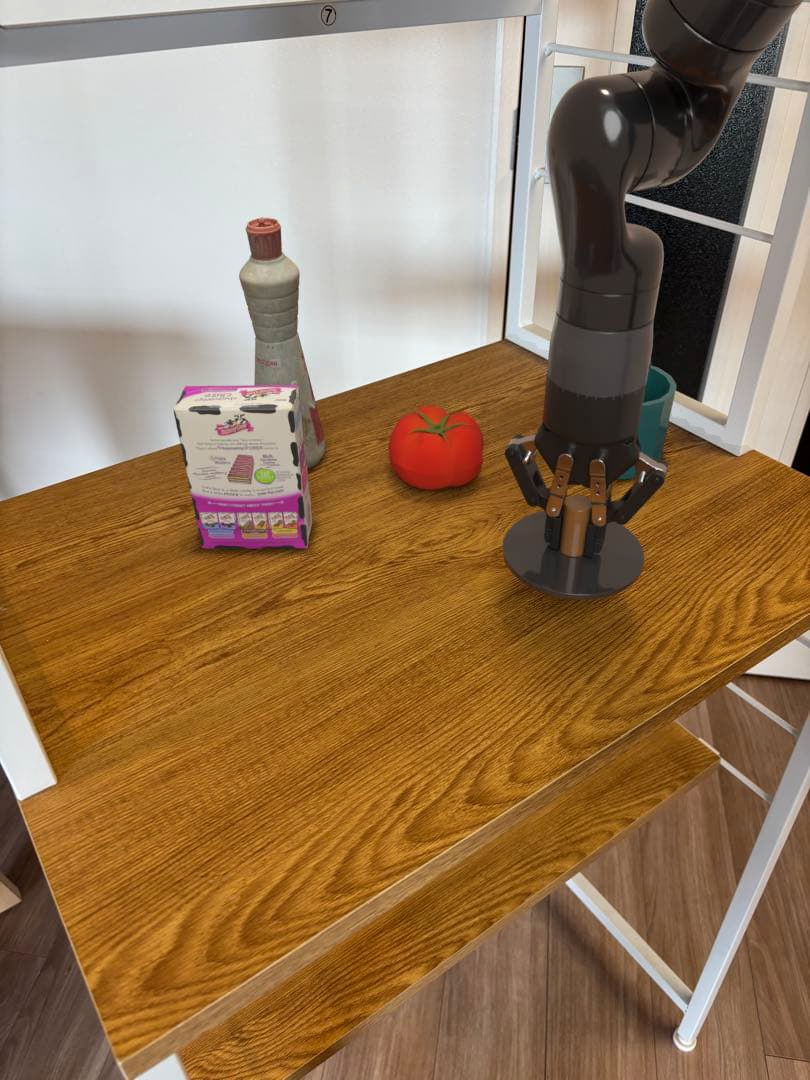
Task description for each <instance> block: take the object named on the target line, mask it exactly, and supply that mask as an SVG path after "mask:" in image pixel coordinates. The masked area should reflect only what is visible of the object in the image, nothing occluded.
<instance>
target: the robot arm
mask: <svg viewBox="0 0 810 1080" xmlns="http://www.w3.org/2000/svg"><path fill="white" fill-rule="evenodd" d="M804 1H805V0H647V1H646V3H645V6H644V8H643V14H642V19H641V33H642V37H643V38H642V39H643V41H644V44H645V46H646V48H647V50H648V52H649V54H650V55H651V57H652V59H653V60H655V62H654V63H653V64H652V65H651V66H650V67H649V68H648V69H644V70H638V71H629V72H620V73H613V74H603V75H597V76H591V77H588V78H585V79H581V80H579V81H578V82H576V83H575V84H573V85H572V86H571V87H569V88H568V89H566V91H565V92H564V94H563V95H562V97H561V98H560V99H559V101H558V103H557V105H556V106H555V108H554V111H553V113H552V115H551V118H550V121H549V125H548V129H547V132H546V139H545V140H546V141H545V161H546V162H545V163H546V169H547V170H546V171H547V176H548V180H549V189H550V193H551V198H552V199H551V200H552V205H553V210H554V217H555V224H556V231H557V236H558V237H557V238H558V242H559V243H558V244H559V249H560V256H561V258H560V259H561V263H560V269H559V277H558V289H557V300H556V310H555V316H554V322H553V325H552V329H551V333H550V339H549V346H548V347H549V348H548V355H547V357H548V358H547V366H546V367H547V368H546V376H545V377H546V378H545V391H544V401H543V409H542V421H541V425H540V426H539V427H538V429H537V432H536V433H535V434H532V435H529V436H524V435H523V434H521V433H515V434H514V435H513V436H512V437H511V439H510V441H509V443H508V445H507V446H506V449H505V450H504V457H505V459H506V461H507V463H508V465H509V468H510V470H511V472H512V474H513V476H514V478H515V481H516V483H517V486H518V487H519V489H520V492H521V494H522V496H523V498H524V501H525V502H526V504H527V505H528V506H529V507H531V508H532V507H533V508H536V507H539V508H540V509H541V510H542V511H545V512H546V523H545V532H544V539H545V542H547V543H550V549H551V550H556V551H558V550H559V545H560V537H561V529H562V520H563V511H564V503H565V500H566V499H567V496H568V492H569V489H570V486H582V487H584V488H586V489H589V490H590V500H591V504H592V516H591V519H590V521H589V524H588V530H587V537H586V544H585V551H584V557H589V558H592V556H593V553H599V552H600V551H601V550H602V547H603V543H604V540H605V534H606V528H607V524H608V523H610V522H616V523H618V524H620V525H623V526H625V525H627V524H628V523H629V522H630V520H632V519H633V518H634V516H635V515H636V514H637V513H638V512H639V511H641V509H642V508H643V506H645V505H646V503H647V502H648V501H649V500H650V499H651V498H652V497H653V496H654V495H655V494H656V492H658V490H659V489H661V488H662V486H663V485H664V484H665V479H666V477H667V473H668V468H669V464H668V461H667V460H666V459H664V458H661V459H656V460H653V459H651V458H650V457H648V456H647V455H645V454H644V453H642V452H641V443H640V441H639V439H638V428H639V422H640V416H641V411H642V405H643V399H644V393H645V388H646V382H647V376H648V372H649V370H650V368H651V365H652V354H653V353H652V352H653V346H654V344H653V343H654V321H655V315H656V309H657V304H658V297H659V292H660V285H661V280H662V274H663V267H664V258H665V251H664V244H663V241H662V239H661V237H660V236H659V235H658V233H656V232H655V231H653V230H652V229H650V228H648V227H646V226H643V225H641V224H636V223H632V222H627V218H626V211H625V200H626V195H629V194H634V193H639V192H642V191H647V190H653V189H658V188H663V187H667V186H670V185H671V184H674V183H676V182H678V181H680V180H682V179H683V178H684V177H686V176H687V175H689V174H690V173H691V172H692V171H693V170H694V169H695V168H697V166H699V165H700V164H701V163H702V162H703V161H704V160H705V159H706V157H707V156H708V155H709V154H710V152H712V149H713V148H714V147H715V145H716V143H717V142H718V140H719V138H720V137H721V134H722V132H723V130H724V128H725V126H726V125H727V122H728V120H729V119H730V117H731V114H732V112H733V109H734V107H735V106H736V104H737V102H738V100H739V98H740V96H741V94H742V92H743V89H744V87H745V85H746V82H747V79H748V77H749V75H750V72H751V69H753V65H754V63H755V62H756V61H757V59H758V58H759V57H760V56H761V55H763V53H764V52H765V50H766V49H767V48H768V47H769V45H770V44H771V43H772V42H773V41H774V39H775V38H776V37H777V35H778V34H779V33H780V32H781V31H782V29H783V28H784V26H785V25H786V24H787V23H788V21H789V20H790V19H791V18H792V16H793V15H794V14H795V13H796V11H797V10H798V8H799V7H800V6H801V5H802V4H803V3H804ZM537 451H538V452H537ZM538 453H539V454H540V456H541V458H542V460H543V461H544V462H545V465H547V467H548V468H549V470H550V472H551V473H552V474H553V479H552V482H551V487H550V488H549V487H547V485H546V482H545V480H544V477H543V475H542V473H541V470H540V469H539V466H538V464H537V461H536V457H537V454H538ZM632 466H634V467H635V468H636V473H635V476H634V478H633V479H634V481H635V482H634V483H633V484H632V485H631V487H629V489H628V490H627V491H626V492H625V493H624V494H623V496H622V497H621V498H619V500H618V499H617V500H612V491H613V490H612V489H613V483H614V482H615V481H617V480H619V479H618V478H619V477H620V476H621V475H623V474H624V473H625V472H626V471H627V470H629V469H630V468H631V467H632Z"/></svg>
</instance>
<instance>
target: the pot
mask: <svg viewBox="0 0 810 1080" xmlns="http://www.w3.org/2000/svg"><path fill="white" fill-rule="evenodd" d="M677 386H678V384H677V383H676V381H675V380H674V378H673V377H672V375H670V374H669V373H667V372H665V371H664V370H663V369H661V368H660V367H658V366H654V365H652V364H651V368H650V370H649V372H648V376H647V382H646V388H645V393H644V399H643V405H642V411H641V416H640V422H639V428H638V439H639V441H640V443H641V452H642V453H644V454H645V455H647V456H648V457H650V458H651V459H653V460H656V459H662V456H663V451H664V447H665V442H666V438H667V434H668V433H667V432H668V428H669V423H670V418H671V414H672V409H673V405H674V400H675V395H676V391H677ZM635 473H636V468H635V467H634V466H632V467H631V468H630V469H629V470H627V471H626V472H625V473H624V474H623V475H621V476H620V477H619V478H618V479H617V480H632V479H634V476H635Z"/></svg>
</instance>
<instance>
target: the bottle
mask: <svg viewBox="0 0 810 1080" xmlns="http://www.w3.org/2000/svg"><path fill="white" fill-rule="evenodd" d="M281 226H282V225H281V224H280V223H279V220H278V219H276V218H271V217H264V216H261V217H259V218H254V219H252V220H249V221H248V222H247V224H246V226H245V233H246V235H247V241H248V245H249V251H250V256H249V259H248V260H247V261H246V262H245V263H244V264H243V266H242V267H241V269H240V270H239V274H238V278H239V282H240V286H241V289H242V291H243V296H244V300H245V304H246V306H247V312H248V314H249V318H250V320H251V325H252V328H253V333H254V336H255V337H254V385H298V388H299V396H300V407H301V416H302V425H303V434H304V445H305V454H306V462H307V470H309V469H312V468H313V467H316V466H317V465H318V463H320V461H321V460H322V459H323V456H324V455H325V452H326V438H325V434H324V431H323V427H322V422H321V419H320V415H319V411H318V407H317V402H316V398H315V395H314V390H313V386H312V382H311V378H310V374H309V371H308V370H309V369H308V367H307V366H308V365H307V362H306V359H305V358H306V357H305V354H304V350H303V346H302V343H301V339H300V334H299V332H298V324H299V318H298V315H299V298H300V297H299V295H300V287H299V286H300V270H299V267H298V266H297V264H296V263H295V262H294V261H293V260H292V259H290V257H288V256H287V255H286V254H285V253H284V251H283V245H282V243H283V242H282V227H281Z"/></svg>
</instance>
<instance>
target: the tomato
mask: <svg viewBox="0 0 810 1080" xmlns="http://www.w3.org/2000/svg"><path fill="white" fill-rule="evenodd" d="M412 410H413V411H414V412H413V413H412V414H405V415H403V417H401V418H399V420H397V423H395V425H394V427H393V429H392V431H391V433H390V435H389V440H388V448H387V449H388V458H389V464H390V466H391V467H392V469H393V470H394V472H395V473H396V475H397V476H398V478H400V480H402V481H403V482H405V483H406V484H407V485H409V486H411V487H413V488H414V487H415V488H416V489H419V490H428V491H434V490H439V489H444V488H446V487H452V488H453V487H454V488H455V487H456V488H457V487H460V486H461V487H462V486H464V485H466V484H468V483H470V482H471V481H472V480H473V479H475V478H476V477H477V476H478V474H479V472H480V471H481V470H482V465H483V462H484V457H483V451H484V447H485V442H484V435H483V432H482V430H481V426H480V425H479V424H478V423H477V422H476V420H475V419H474V418H473V417H472V416H471V415H470V414H469V413H466V412H462V411H459V412H455V413H453V414H451V413H447V412H446V411H445V410H444V409H443V408H441V407H438V406H434V405H424V406H419V407H418V408H417V409H412Z"/></svg>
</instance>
